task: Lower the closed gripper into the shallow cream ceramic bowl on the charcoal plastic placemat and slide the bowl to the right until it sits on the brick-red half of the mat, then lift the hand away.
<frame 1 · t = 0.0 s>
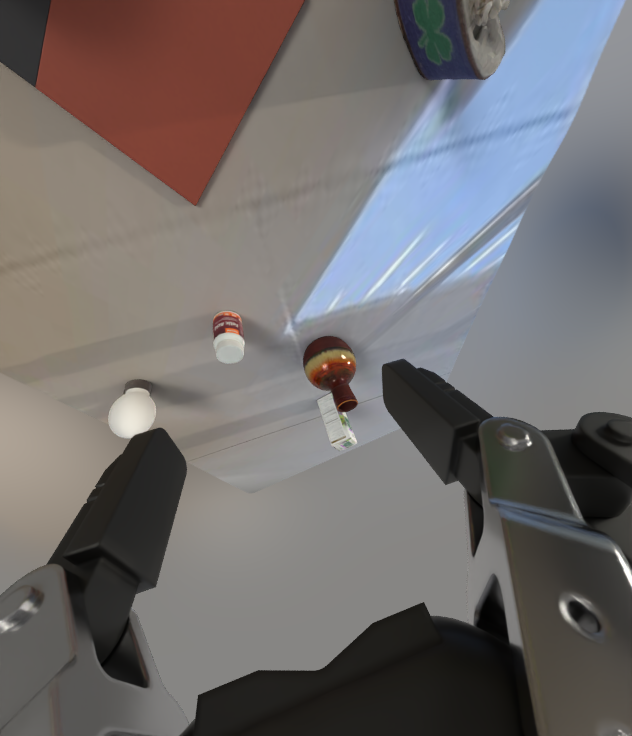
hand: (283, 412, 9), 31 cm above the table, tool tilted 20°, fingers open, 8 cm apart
syrup box: (328, 398, 72), on the table
vase: (322, 348, 54), on the table
flask: (416, 22, 23), on the table
light bulb: (139, 384, 47), on the table
pill bottle: (227, 320, 42), on the table
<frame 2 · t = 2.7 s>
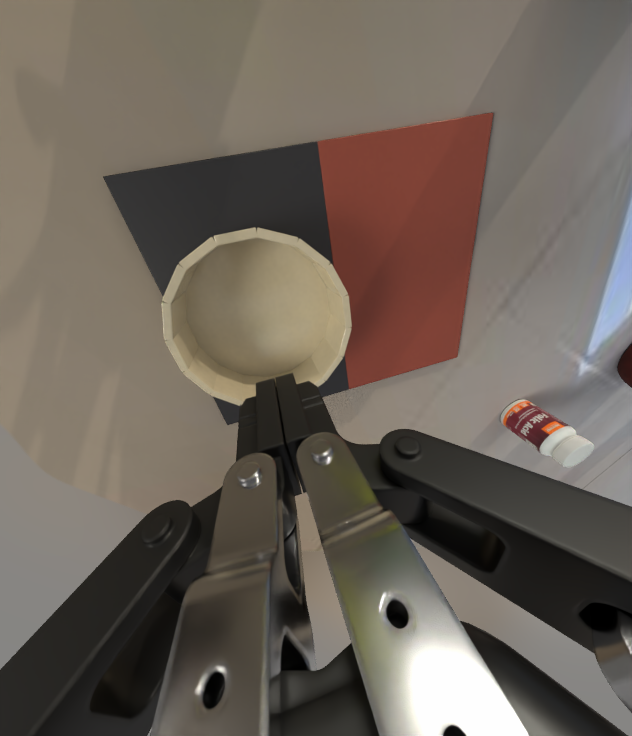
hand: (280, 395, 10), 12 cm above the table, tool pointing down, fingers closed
placemat: (335, 295, 21), on the table
pill bottle: (511, 410, 36), on the table
bowl: (262, 314, 20), resting on placemat
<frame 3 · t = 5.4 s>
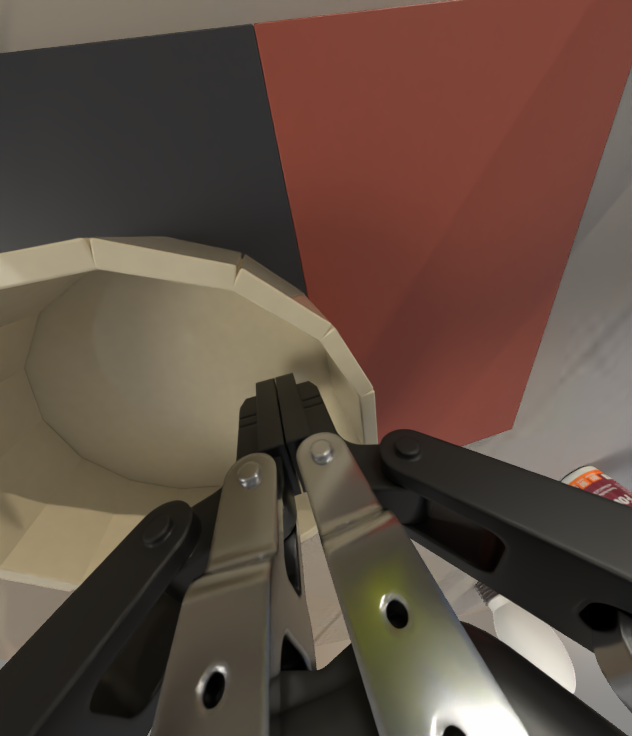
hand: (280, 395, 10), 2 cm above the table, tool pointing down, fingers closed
placemat: (318, 356, 12), on the table
light bulb: (485, 578, 37), on the table
pill bottle: (570, 478, 26), on the table
bowl: (205, 393, 11), resting on placemat, touching gripper
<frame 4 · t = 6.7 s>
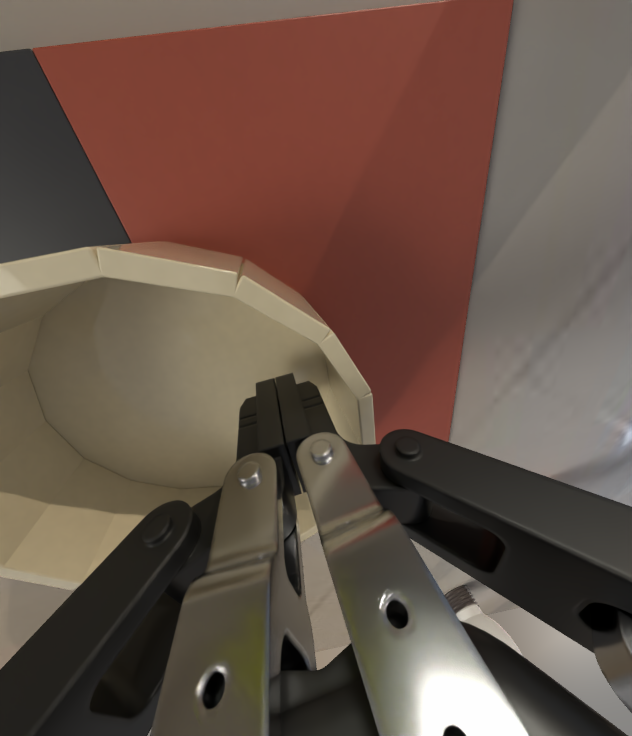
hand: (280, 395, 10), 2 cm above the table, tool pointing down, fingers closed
placemat: (208, 385, 11), on the table
light bulb: (454, 590, 36), on the table
bowl: (206, 394, 11), resting on placemat, touching gripper
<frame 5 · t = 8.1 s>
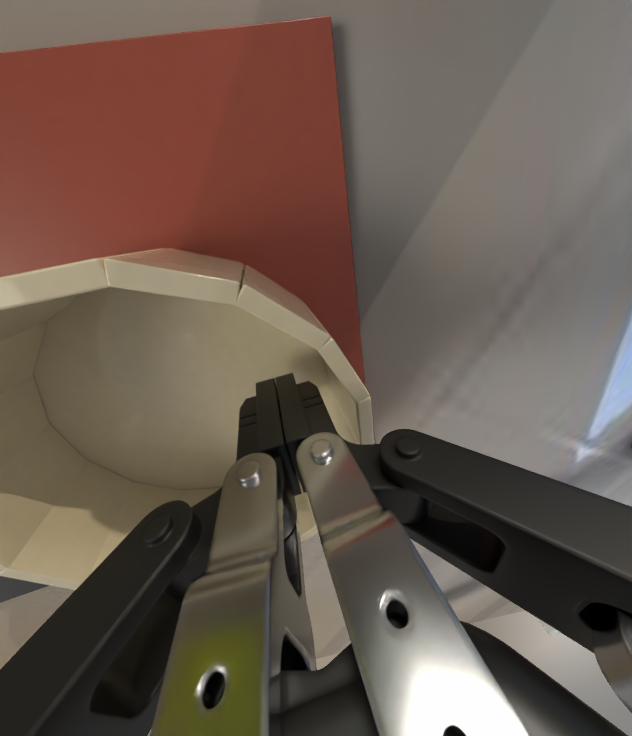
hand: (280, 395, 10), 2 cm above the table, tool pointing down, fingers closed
placemat: (77, 420, 10), on the table
bowl: (207, 397, 11), resting on placemat, touching gripper
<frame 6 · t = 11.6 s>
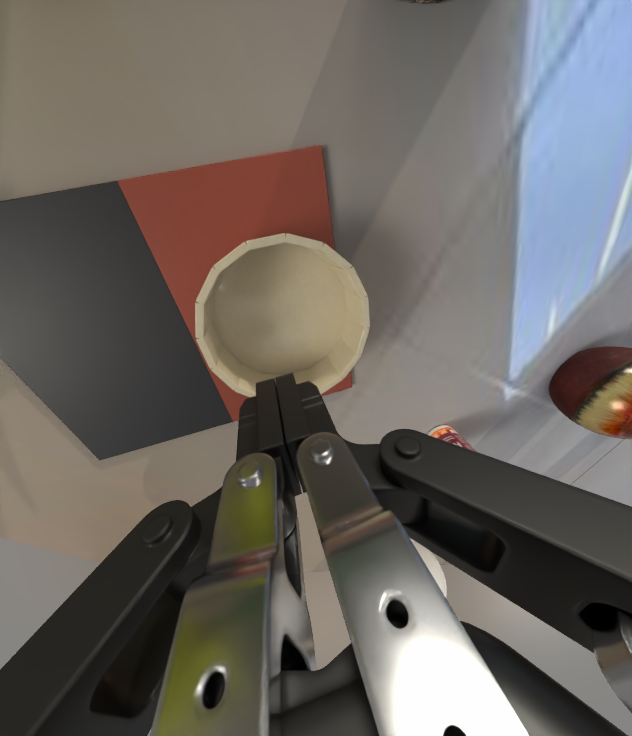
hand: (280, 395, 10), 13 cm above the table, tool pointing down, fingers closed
vase: (571, 373, 35), on the table
placemat: (190, 330, 20), on the table
light bulb: (398, 528, 45), on the table
pill bottle: (436, 436, 34), on the table
bowl: (282, 315, 21), resting on placemat
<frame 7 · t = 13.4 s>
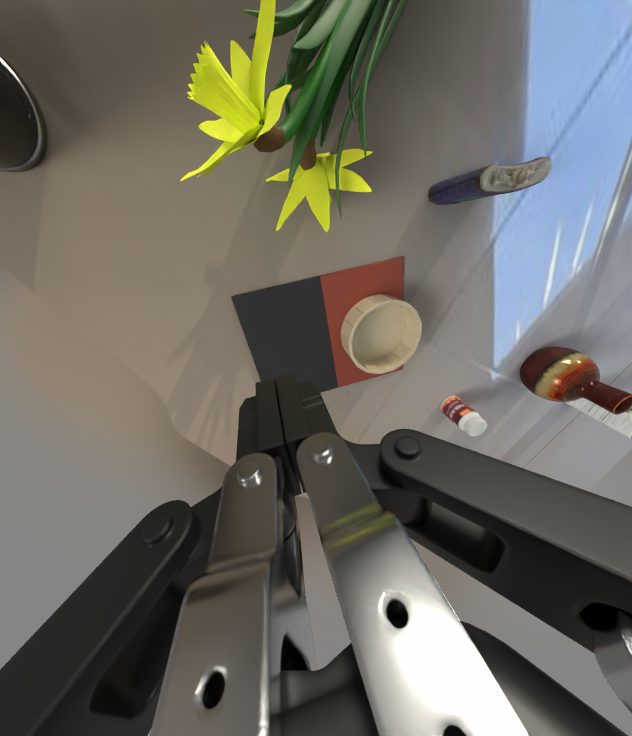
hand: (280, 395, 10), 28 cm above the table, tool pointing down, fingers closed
syrup box: (576, 392, 63), on the table
vase: (534, 364, 55), on the table
placemat: (329, 337, 40), on the table
flask: (456, 190, 34), on the table
daffodil flowers: (317, 73, 26), on the table
pill bottle: (448, 403, 55), on the table
bowl: (373, 330, 41), resting on placemat
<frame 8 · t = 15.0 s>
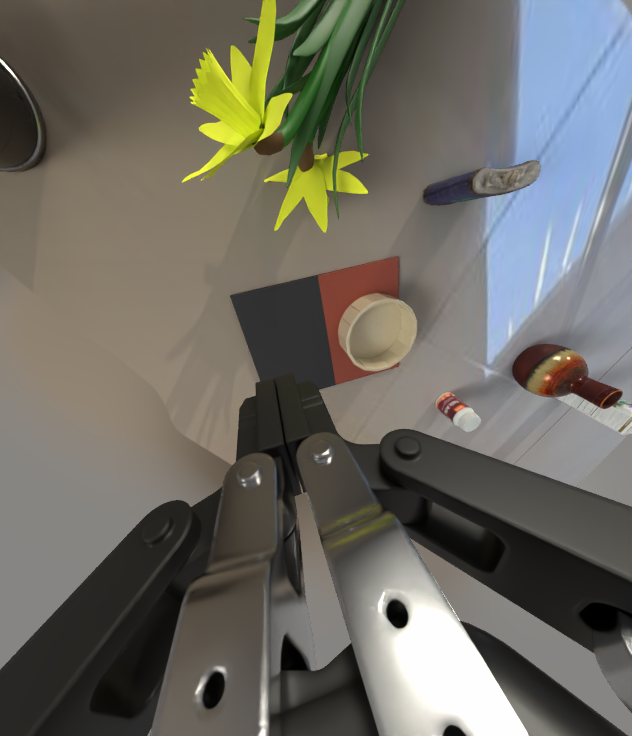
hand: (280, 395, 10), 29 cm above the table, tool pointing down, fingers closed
syrup box: (566, 388, 65), on the table
vase: (526, 360, 56), on the table
placemat: (327, 336, 41), on the table
flask: (450, 191, 35), on the table
daffodil flowers: (314, 76, 26), on the table
pill bottle: (443, 399, 56), on the table
bowl: (370, 328, 42), resting on placemat
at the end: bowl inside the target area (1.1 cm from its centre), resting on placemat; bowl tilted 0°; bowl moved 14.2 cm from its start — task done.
